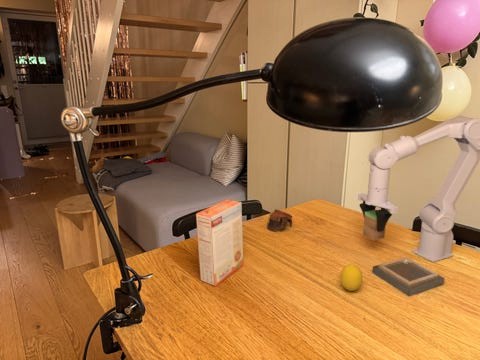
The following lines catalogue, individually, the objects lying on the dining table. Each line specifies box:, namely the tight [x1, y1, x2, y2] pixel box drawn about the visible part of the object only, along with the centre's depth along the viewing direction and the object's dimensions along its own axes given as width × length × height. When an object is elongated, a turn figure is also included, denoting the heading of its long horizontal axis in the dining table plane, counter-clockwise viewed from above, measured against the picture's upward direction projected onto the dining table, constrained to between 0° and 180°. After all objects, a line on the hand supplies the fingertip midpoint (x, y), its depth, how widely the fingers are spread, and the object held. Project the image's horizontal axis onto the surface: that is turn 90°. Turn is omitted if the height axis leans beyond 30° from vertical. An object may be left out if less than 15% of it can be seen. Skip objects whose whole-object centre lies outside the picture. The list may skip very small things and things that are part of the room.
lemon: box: [339, 263, 363, 292], centre depth 91 cm, size 6×6×8 cm
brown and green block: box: [362, 209, 387, 241], centre depth 109 cm, size 4×4×8 cm
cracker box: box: [195, 198, 244, 287], centre depth 99 cm, size 14×6×21 cm, turn 145°
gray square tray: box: [371, 256, 445, 297], centre depth 97 cm, size 13×13×3 cm
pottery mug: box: [266, 208, 293, 233], centre depth 132 cm, size 12×10×8 cm
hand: (374, 227), depth 109 cm, fingers closed on brown and green block, 4 cm apart
